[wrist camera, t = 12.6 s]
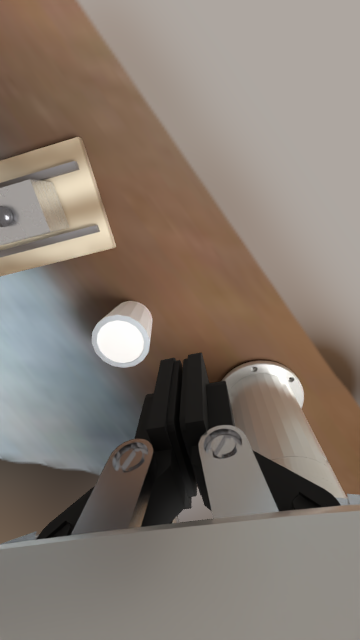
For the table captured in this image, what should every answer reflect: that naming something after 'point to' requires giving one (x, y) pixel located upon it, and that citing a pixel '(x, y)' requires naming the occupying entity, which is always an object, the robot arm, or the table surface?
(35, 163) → the gauge bed
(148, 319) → the shot glass
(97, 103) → the table surface
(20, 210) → the knobbed grey slider
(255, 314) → the table surface
